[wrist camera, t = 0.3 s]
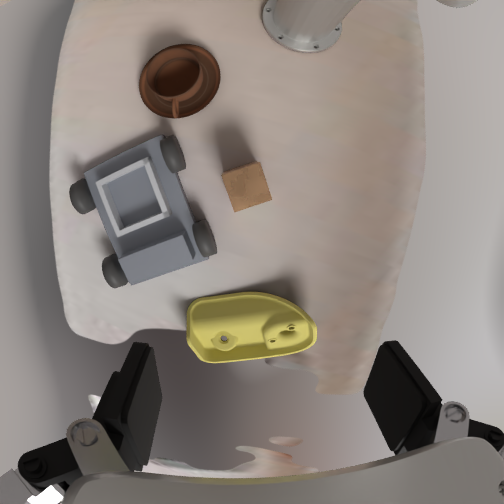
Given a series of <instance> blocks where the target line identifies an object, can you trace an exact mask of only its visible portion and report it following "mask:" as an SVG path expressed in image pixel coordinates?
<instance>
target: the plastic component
mask: <svg viewBox="0 0 504 504" xmlns="http://www.w3.org/2000/svg"><path fill="white" fill-rule="evenodd" d="M221 336H226V337H227V340H226V341H223V340H222V339H221ZM316 339H317V327H316V325H315V323H314V321H313V320H312V319H311V317H310V316H309V315H308V314H307V313H306V312H305V311H303V310H302V309H301V308H300V307H298V306H297V305H295V304H293V303H292V302H290V301H288V300H286V299H284V298H281V297H279V296H276V295H272V294H268V293H262V292H240V293H233V294H226V295H218V296H211V297H203V298H199V299H196V300H195V301H193V302H192V303H191V304H190V306H189V308H188V310H187V342H188V345H189V346H190V347H191V349H192V350H193V351H194V352H195V354H196V355H197V356H198V357H199V359H200V360H202V361H204V362H208V363H221V362H233V361H242V360H252V359H260V358H268V357H276V356H283V355H288V354H293V353H297V352H300V351H303V350H306V349H308V348H309V347H311V346H312V345H313V344H314V343H315V342H316Z"/></svg>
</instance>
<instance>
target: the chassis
mask: <svg viewBox="0 0 504 504" xmlns="http://www.w3.org/2000/svg"><path fill="white" fill-rule="evenodd" d="M184 169H186V163H185V159H184V155H183V152H182V150H181V147H180V145H179V143H178V141H177V139H176V137H175V136H174V135H171V136H169V137H167V138H165V137H164V135H159V136H157V137H155V138H153V139H150V140H148V141H146V142H144V143H142V144H139V145H137V146H135V147H133V148H131V149H129V150H127V151H125V152H123V153H121V154H119V155H117V156H115V157H113V158H111V159H109V160H107V161H105V162H103V163H101V164H99V165H97V166H96V167H94V168H92V169H90V170H88V171H86V172H85V173H84V175H85V178H86V179H81V180H79V181H77V182H76V183H74V184H72V185H71V187H70V191H69V194H70V199H71V202H72V205H73V206H74V208H75V209H76V210H77V211H78V212H79V213H80V214H86V213H88V212H90V211H92V210H94V209H95V208H97V210H98V213H99V215H100V218H101V220H102V222H103V225H104V227H105V230H106V232H107V234H108V237H109V239H110V241H111V243H112V246H113V248H114V250H115V252H116V254H113V255H111V256H108V257H106V258H104V260H103V262H102V271H103V275H104V278H105V280H106V281H107V283H108V284H109V285H110V286H111V287H112V288H118V287H121V286H124V285H126V284H127V283H128V281H129V283H130V284H131V285H134V284H137V283H140V282H143V281H146V280H149V279H152V278H155V277H158V276H161V275H163V274H166V273H169V272H172V271H175V270H178V269H181V268H184V267H187V266H190V265H193V264H196V263H199V262H202V261H205V260H208V259H209V256H211V255H214V254H217V247H216V242H215V239H214V236H213V233H212V230H211V228H210V226H209V224H208V222H207V221H206V220H202V221H199V222H197V223H196V221H195V219H194V216H193V213H192V211H191V208H190V206H189V203H188V200H187V198H186V195H185V192H184V190H183V187H182V184H181V182H180V179H179V176H178V174H177V172H179V171H181V170H184Z"/></svg>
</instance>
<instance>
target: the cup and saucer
mask: <svg viewBox="0 0 504 504" xmlns="http://www.w3.org/2000/svg"><path fill="white" fill-rule="evenodd" d="M219 84H220V69H219V65H218V63H217V61H216V59H215V58H214V57H213V56H212V55H211V54H210V53H209V52H208V51H207V50H205V49H203V48H201V47H199V46H196V45H191V44H179V45H174V46H170V47H167V48H165V49H163V50H161V51H160V52H158V53H157V54H155V55H154V56H153V57H152V58H151V59H150V60H149V61H148V63H147V64H146V65H145V67H144V69H143V71H142V73H141V76H140V81H139V91H140V95H141V98H142V100H143V102H144V104H145V105H146V106H147V107H148V108H149V109H150V110H151V111H152V112H154V113H155V114H157V115H160V116H162V117H166V118H183V117H187V116H190V115H193V114H195V113H197V112H199V111H200V110H202V109H203V108H204V107H206V106H207V105H208V104H209V103H210V102H211V100H212V99H213V98H214V96H215V94H216V93H217V90H218V88H219Z"/></svg>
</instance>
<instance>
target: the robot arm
mask: <svg viewBox="0 0 504 504" xmlns="http://www.w3.org/2000/svg"><path fill="white" fill-rule="evenodd" d="M359 1H360V0H268V1H267V3H266V4H265V6H264V9H263V13H262V20H263V25H264V27H265V29H266V31H267V32H268V34H269V35H270V36H271V37H272V38H273V39H274V40H275V41H276V42H277V43H279V44H280V45H282V46H284V47H286V48H288V49H291V50H293V51H297V52H302V53H315V52H320V51H324V50H326V49H328V48H330V47H331V46H332V45H333V44H334V43H335V42H336V41H337V40H338V39H339V37H340V35H341V31H342V23H341V21H342V20H343V19H344V18H345V16H346V15H347V14H348V13H349V12H350V11H351V10H352V9H353V8H354V7H355V6H356V5H357V4H358V3H359ZM437 1H439V2H440V3H442V4H444V5H447V6H450V7H456V8H458V7H459V8H460V7H465V6H468V5H471V4H473V3H474V2H476V1H477V0H437ZM267 11H269V12H267ZM279 38H281V39H279ZM314 47H316V49H315V48H314ZM364 397H365V399H366V401H367V403H368V405H369V407H370V409H371V411H372V413H373V415H374V417H375V419H376V422H377V424H378V426H379V428H380V430H381V432H382V434H383V436H384V438H385V440H386V442H387V445H388V447H389V448H390V450H391V451H394V453H395V456H392V457H389V458H385V459H381V460H377V461H373V462H369V463H365V464H360V465H356V466H351V467H346V468H341V469H336V470H330V471H324V472H317V473H310V474H302V475H292V476H281V477H266V478H203V477H186V476H175V475H165V474H155V473H145V472H142V468H143V465H146V466H147V464H148V461H149V456H150V451H151V447H152V442H153V437H154V433H155V428H156V424H157V419H158V415H159V411H160V406H161V402H162V393H161V388H160V382H159V377H158V372H157V366H156V361H155V355H154V349H153V348H152V347H149V345H148V344H147V343H139V342H134V343H133V345H132V347H131V349H130V351H129V353H128V355H127V358H126V360H125V362H124V364H123V366H122V368H121V371H120V372H117V371H115V372H113V374H112V376H111V378H110V380H109V382H108V384H107V387H106V389H105V391H104V393H103V395H102V397H101V400H100V402H99V404H98V406H97V409H96V411H95V413H94V416H93V418H92V419H89V418H82V419H78V420H76V421H74V422H73V423H71V424H70V426H69V427H68V429H67V433H66V436H67V438H64V439H62V440H59V441H56V442H54V443H51V444H48V445H46V446H43V447H40V448H37V449H35V450H32V451H29V452H27V453H25V454H23V455H22V456H21V457H20V459H19V461H18V469H16V470H15V471H14V470H13V469H11V470H9V471H8V472H7V473H5V474H4V475H2V476H1V477H0V504H504V433H503V432H502V431H501V430H500V429H499V428H497V427H494V426H491V425H488V424H484V423H481V422H478V421H474V420H471V419H469V412H468V410H467V408H466V407H465V406H464V405H462V404H460V403H458V402H454V401H451V402H447V403H445V404H444V405H442V404H441V401H442V399H441V397H440V396H439V394H438V393H437V392H436V390H435V389H434V388H433V386H432V385H431V384H430V382H429V381H428V380H427V378H426V377H425V376H424V374H423V373H422V372H421V371H420V369H419V368H418V367H417V365H416V364H415V363H414V361H413V360H412V359H411V357H410V356H409V355H408V354H407V352H406V351H405V350H404V349H403V347H402V346H401V345H400V344H399V342H398V341H386V342H384V343H383V344H382V345H381V346H380V347H379V349H378V352H377V355H376V358H375V361H374V364H373V367H372V369H371V372H370V375H369V378H368V380H367V383H366V385H365V388H364ZM134 470H135V471H141V472H134Z"/></svg>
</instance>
